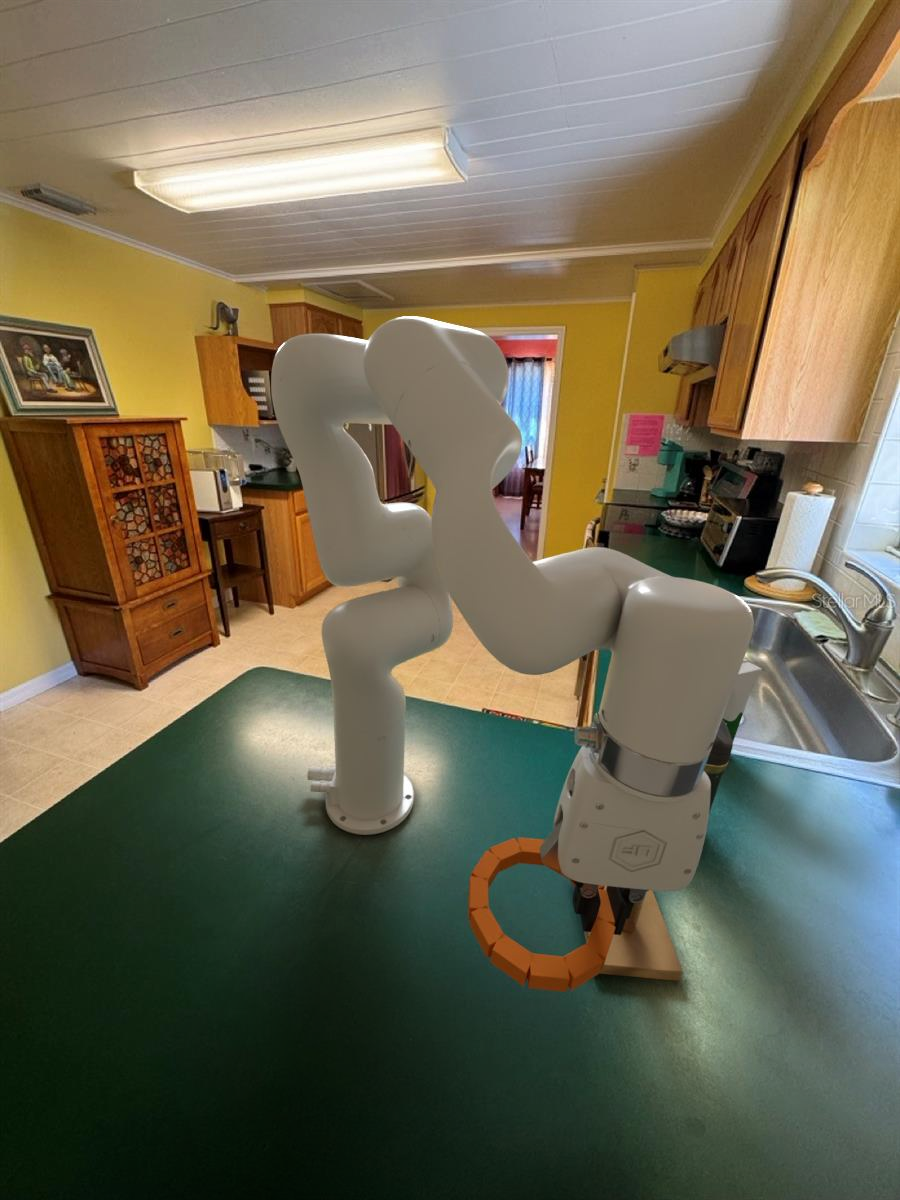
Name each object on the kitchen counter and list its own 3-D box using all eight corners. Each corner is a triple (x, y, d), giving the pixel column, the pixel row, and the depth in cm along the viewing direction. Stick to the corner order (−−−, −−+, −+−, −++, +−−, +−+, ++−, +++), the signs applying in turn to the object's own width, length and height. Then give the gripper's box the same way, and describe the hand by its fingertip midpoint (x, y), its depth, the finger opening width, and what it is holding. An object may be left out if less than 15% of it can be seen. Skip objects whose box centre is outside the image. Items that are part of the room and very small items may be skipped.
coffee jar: (703, 862, 62) (744, 748, 55) (639, 843, 64) (671, 731, 57) (693, 809, 71) (728, 704, 64) (637, 793, 73) (665, 691, 66)
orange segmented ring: (467, 982, 36) (468, 968, 35) (469, 844, 47) (470, 832, 46) (628, 999, 35) (633, 986, 35) (591, 856, 47) (595, 844, 46)
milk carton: (693, 728, 89) (722, 634, 82) (737, 759, 82) (773, 658, 74) (659, 738, 86) (686, 640, 78) (701, 771, 78) (736, 667, 71)
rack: (592, 973, 49) (613, 896, 45) (575, 891, 57) (591, 820, 53) (679, 981, 49) (709, 905, 44) (649, 898, 57) (672, 827, 53)
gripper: (544, 775, 31) (510, 953, 38) (788, 798, 30) (708, 973, 37) (532, 707, 38) (505, 868, 45) (730, 725, 37) (671, 884, 44)
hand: (598, 915), depth 41 cm, fingers closed on orange segmented ring, 1 cm apart
